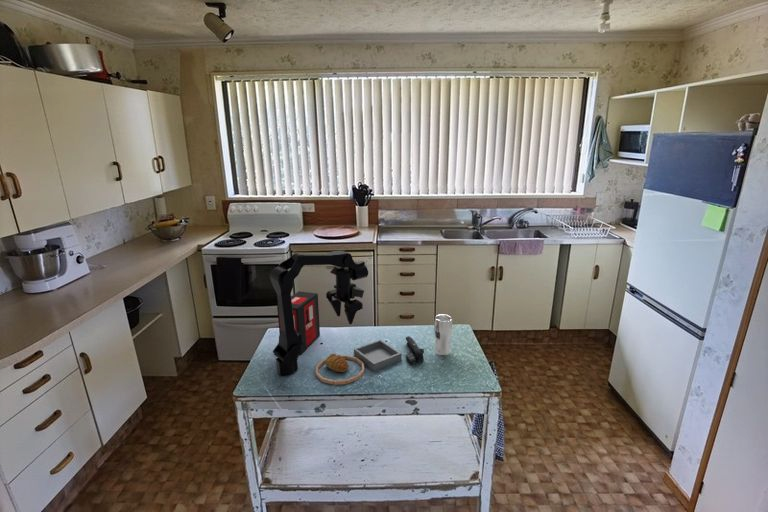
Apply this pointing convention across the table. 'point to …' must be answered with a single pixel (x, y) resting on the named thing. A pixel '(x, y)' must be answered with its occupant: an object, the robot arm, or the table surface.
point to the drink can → (442, 334)
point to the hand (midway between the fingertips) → (344, 320)
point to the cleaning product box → (305, 317)
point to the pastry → (337, 363)
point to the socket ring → (341, 380)
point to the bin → (377, 355)
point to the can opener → (414, 351)
